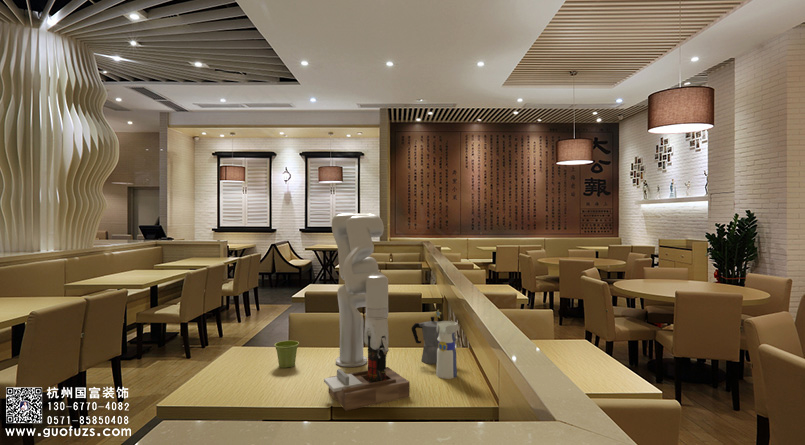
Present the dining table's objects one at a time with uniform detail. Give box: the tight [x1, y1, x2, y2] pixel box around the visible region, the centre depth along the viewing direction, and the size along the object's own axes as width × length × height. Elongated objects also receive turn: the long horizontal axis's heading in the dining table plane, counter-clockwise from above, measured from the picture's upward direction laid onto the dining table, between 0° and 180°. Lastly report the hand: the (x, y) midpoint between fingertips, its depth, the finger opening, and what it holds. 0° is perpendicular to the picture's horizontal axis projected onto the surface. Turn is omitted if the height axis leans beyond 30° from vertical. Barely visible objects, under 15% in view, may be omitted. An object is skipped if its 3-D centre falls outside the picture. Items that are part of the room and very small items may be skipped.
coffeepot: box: [411, 316, 439, 365], centre depth 181 cm, size 15×9×18 cm, turn 103°
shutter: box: [323, 368, 362, 392], centre depth 142 cm, size 10×10×4 cm
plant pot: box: [273, 340, 300, 369], centre depth 174 cm, size 9×9×9 cm
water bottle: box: [435, 308, 460, 380], centre depth 164 cm, size 8×9×25 cm
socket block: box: [328, 366, 410, 412], centre depth 146 cm, size 16×22×6 cm
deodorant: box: [367, 336, 386, 383], centre depth 147 cm, size 6×6×15 cm
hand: (376, 366), depth 147 cm, fingers closed on deodorant, 5 cm apart
